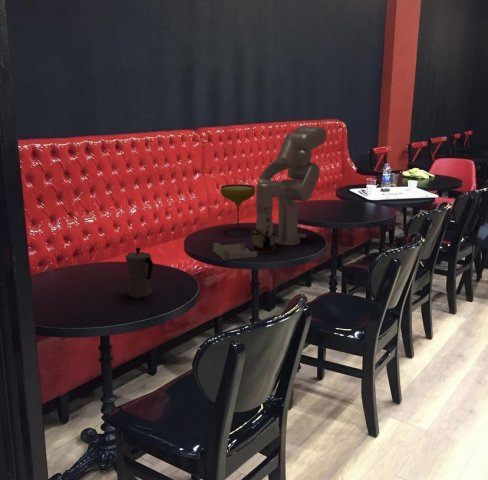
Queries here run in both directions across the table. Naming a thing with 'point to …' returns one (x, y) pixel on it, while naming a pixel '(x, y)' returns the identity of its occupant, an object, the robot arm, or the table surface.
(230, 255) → the chute mount
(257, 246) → the food container
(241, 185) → the cocktail glass
